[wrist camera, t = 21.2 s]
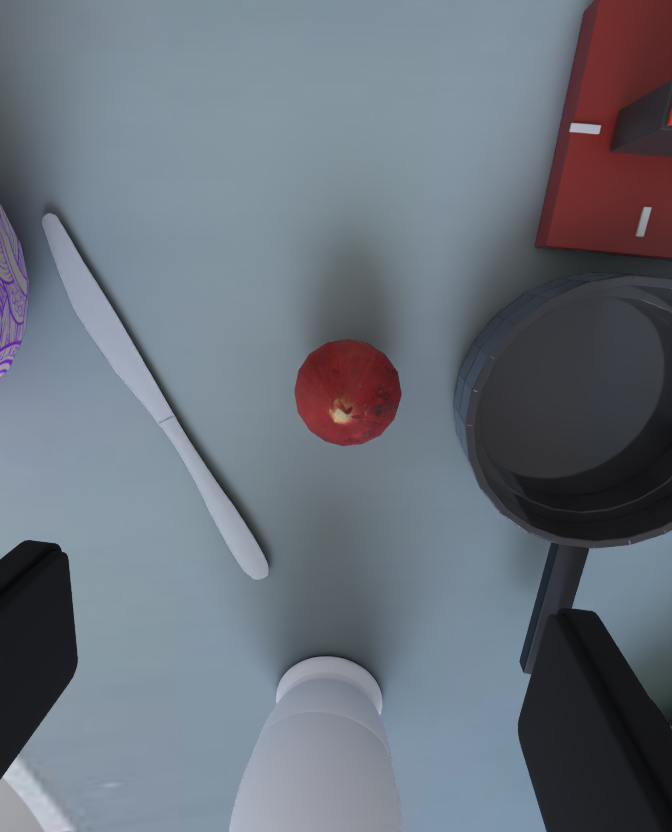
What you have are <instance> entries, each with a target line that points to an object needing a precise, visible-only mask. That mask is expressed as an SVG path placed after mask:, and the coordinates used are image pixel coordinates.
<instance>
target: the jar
mask: <svg viewBox="0 0 672 832" xmlns="http://www.w3.org/2000/svg"><path fill="white" fill-rule="evenodd" d="M276 702H277V704H276V706H275V707H274V708H273V710H272V711H271V713H270V715H269V716H268V718H267V720H266V722H265V724H264V726H263V728H262V731H261V733H260V736H259V738H258V741H257V744H256V746H255V748H254V750H253V753H252V755H251V757H250V759H249V762H248V764H247V767H246V769H245V772H244V775H243V778H242V781H241V784H240V787H239V790H238V793H237V797H236V801H235V804H234V809H233V813H232V818H231V823H230V828H229V832H402V818H401V807H400V798H399V792H398V786H397V781H396V776H395V772H394V769H393V765H392V756H391V750H390V745H389V740H388V736H387V733H386V730H385V727H384V724H383V722H382V719H381V717H380V714H381V710H382V694H381V691H380V688H379V686H378V684H377V682H376V680H375V679H374V678H373V677H372V675H371V674H370V673H369V672H368V671H366V670H365V669H364V668H363V667H361V666H360V665H358V664H356V663H354V662H352V661H349V660H346V659H343V658H339V657H332V656H321V657H314V658H310V659H306V660H304V661H301V662H299V663H297V664H296V665H294V666H293V667H291V668H290V669H289V670H288V671H287V672H286V673H285V674H284V676H283V677H282V679H281V680H280V682H279V685H278V688H277V693H276Z"/></svg>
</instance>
